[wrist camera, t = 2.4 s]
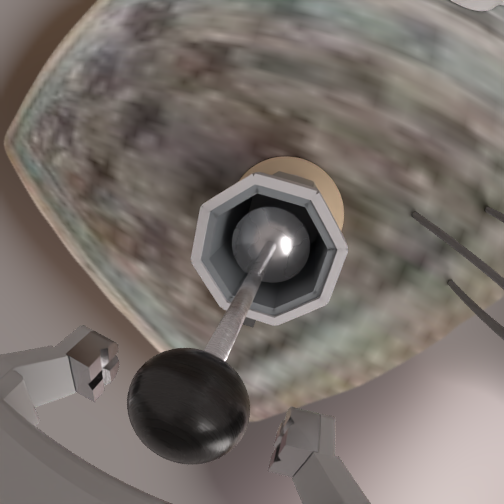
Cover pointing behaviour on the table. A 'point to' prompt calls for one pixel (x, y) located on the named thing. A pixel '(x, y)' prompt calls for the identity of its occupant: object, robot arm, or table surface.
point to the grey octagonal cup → (295, 200)
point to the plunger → (215, 354)
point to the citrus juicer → (494, 325)
